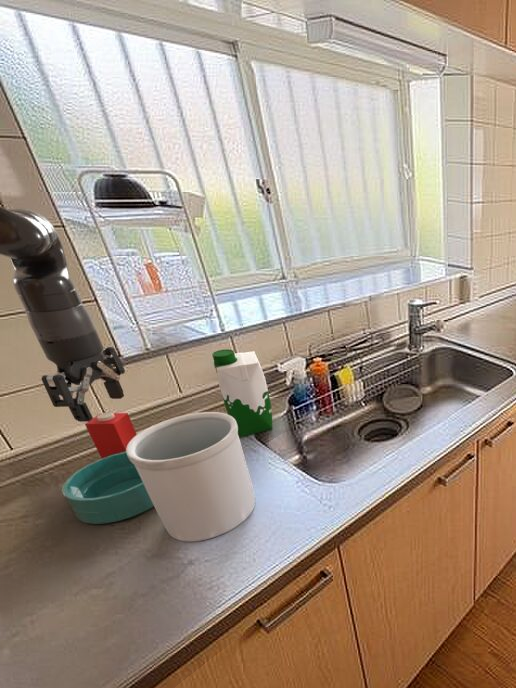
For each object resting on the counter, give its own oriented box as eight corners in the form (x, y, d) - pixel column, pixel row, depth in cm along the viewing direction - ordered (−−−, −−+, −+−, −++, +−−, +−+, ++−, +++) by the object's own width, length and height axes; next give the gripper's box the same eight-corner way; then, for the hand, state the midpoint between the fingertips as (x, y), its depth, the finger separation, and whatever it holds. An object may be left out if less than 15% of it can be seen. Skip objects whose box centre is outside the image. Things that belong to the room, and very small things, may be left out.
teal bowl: (54, 528, 72) (38, 502, 69) (113, 474, 85) (101, 450, 82) (146, 524, 74) (133, 498, 71) (190, 472, 87) (181, 448, 84)
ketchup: (106, 469, 86) (82, 420, 80) (120, 457, 89) (98, 409, 84) (133, 468, 87) (112, 420, 81) (146, 456, 90) (126, 409, 85)
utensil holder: (151, 513, 76) (115, 433, 68) (241, 475, 87) (219, 402, 78) (176, 560, 68) (138, 475, 60) (272, 512, 78) (250, 434, 70)
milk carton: (231, 422, 103) (209, 347, 94) (272, 413, 108) (255, 341, 98) (234, 440, 97) (210, 362, 87) (278, 430, 101) (260, 354, 92)
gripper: (73, 317, 80) (107, 391, 88) (3, 346, 68) (49, 429, 75) (117, 317, 81) (147, 391, 89) (56, 346, 69) (96, 428, 76)
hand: (102, 408), depth 82 cm, fingers open, 8 cm apart
